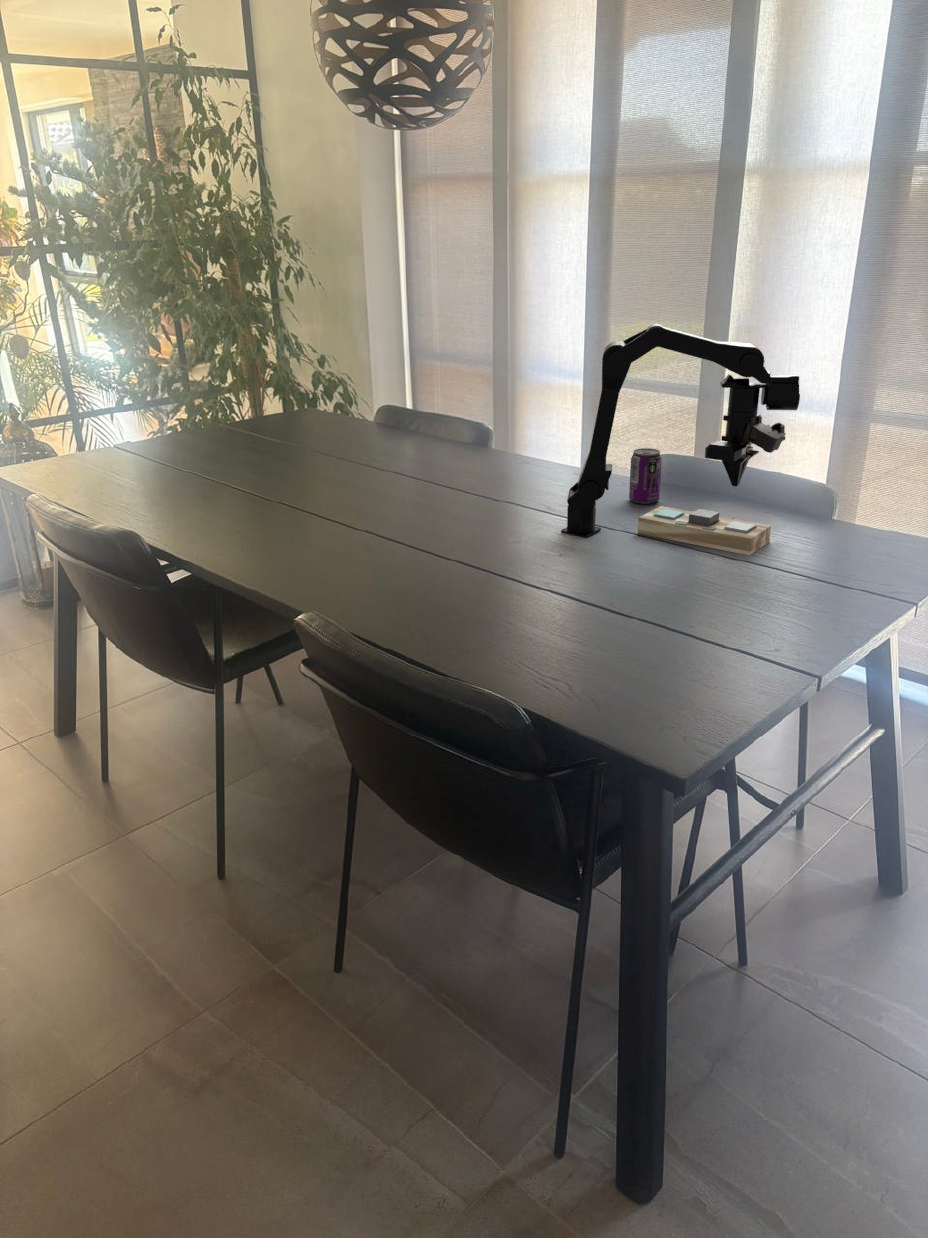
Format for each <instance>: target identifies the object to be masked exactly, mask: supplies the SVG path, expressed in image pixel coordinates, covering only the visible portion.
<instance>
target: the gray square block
mask: <svg viewBox="0 0 928 1238" xmlns="http://www.w3.org/2000/svg"><path fill="white" fill-rule="evenodd" d="M691 512H692V513H690V514H689V522H688V523H692V524H697V525H703V526H709V527H710V526H712V525H714V524H716V523H717V522H719V517H720V512H718V511H714V510H709V509H704V508H703V509H702V508H698V509H696V510H694V511H691Z"/></svg>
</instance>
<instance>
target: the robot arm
mask: <svg viewBox="0 0 928 1238" xmlns="http://www.w3.org/2000/svg"><path fill="white" fill-rule="evenodd" d="M656 348H661V349H666V350H669V351H673V352H677V353H680V354H684V355H688V356H691V357H694V358H697V359H698V358H699V359H702V360H706V361H710V362H713V363H715V364H717V365H719V366H721V367H723V368H724V369H727V370H729V371H731V372H733V373H734V374H737V375H738V376H740V377H733V375H732V374H731V373H728V374H727V375H726V377H725V378H724V379H722V380H721V381H720V382H719V384H720V386H721V388H723V389H724V388H725V389H729V395H728V406H727V414H724V415H723V417H722V421H724V422H726V427H725V434H722V435H721V437H720V438H721V439H720V440H717V441H714V442H712V443H709V444H708V446H706V447H705V450H704V458H705V459H708V460H709V459H710V460H716V461H721V462H722V464H723V466H724V468H725V472H726V474H727V476H728V479H729V481H730V484H731V486H732V487H739V485H740V483H741V480H742V478H743V476H744V473H745V470H746V468H747V466H748V463H749V462H750V460H751V459H752V458H753V457H755V456H756V455H757V454H759V452H760V451H759V450H754V449H753V446H752V445H755V446H757V447H759V448H760V449H762V450H763V451H764V452H766V453H770V454H771V453H773V452H774V451H777V450H779V448H780V446H781V444H782V443H783V442H784V441H785V440H786V431H785V428H786V427H785V424H783V423H781V422H775V423H774V424H772V425H770V424H764V423H762V422H763V421H762V418H763V417H762V415H761V414H759V413H758V410H759V401H760V404H761V405H762V406H765V408H766V410H767V411H798V408H799V406H800V405H799V404H800V398H801V394H800V376H799V375H798V374H787V375H771V372H770V371H769V370H768V369H766V367H765V366H764V365H765V356H764V354H763V352H762V350H760V349H759V348H758V346H756V345H755V344H753V343H749V342H739V341H719V340H714V339H710V338H707V337H702V336H700V335H696V334H692V333H688V332H685V331H681V330H677V329H673V328H670V327H666V326H663V325H661V324H660V323H654V324H651V325H649V326H648V327H647V328H644V329H643V330H641V331H640V332H637V333H636V334H634V335H632V336H630V337H628V338H626V339H625V340H622V341H621V340H614V341H612V342H609V344H608V345H606V346H605V347H604V350H603V353H602V359H601V360H602V362H601V365H602V366H601V391H600V392H601V393H600V398H599V402H598V407H597V413H596V417H595V422H594V429H593V433H592V437H591V443H590V449H589V452H588V454H587V457H586V459H585V462H584V464H583V467H582V469H581V471H580V474H579V477H578V481H577V482H575V483H574V485H573V486H571V487H570V488H569V490H568V493H567V499H566V502H567V504H568V505H567V509H566V510H567V515H566V516H567V518H566V519H567V520H566V521H567V523H566V527H565V528H562V529H561V530H560V533H562V534H566V535H567V534H568V535H571V536H578V537H581V538H588V537H590V536H593V535H594V534H596V533H598V532H601V531H602V527H599V526H596V515H597V514H596V511H597V510H596V509H597V506H596V501H598V500H599V499H601V498H602V497H603V496H604V494H605V491H608V490H609V488H610V487H609V486H610V478H611V475H612V472H613V464H612V463H607V454H608V449H609V445H610V440H611V435H612V430H613V425H614V419H615V414H616V412H617V411H616V410H617V405H618V402H619V401H618V400H619V395H620V393H621V389H622V387H623V386H624V385H623V384H624V383H625V380H626V378H627V375H628V372H629V370H630V368H631V365H632V363H633V362H635V361H637V360H639V359H641V358H642V357H644V356H645V355H646V354H647V353H650V352H651V351H652V350H654V349H656ZM750 378H753V379H755V380H756V381H757V382H751V381H750ZM760 389H761V394H760ZM760 395H761V396H760ZM759 399H760V400H759Z"/></svg>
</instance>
